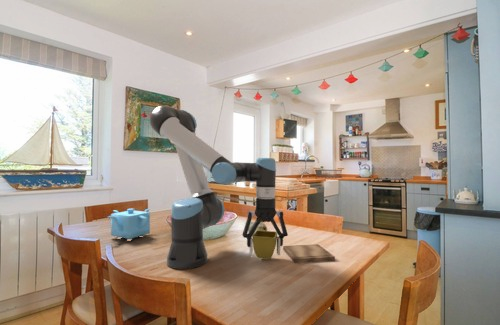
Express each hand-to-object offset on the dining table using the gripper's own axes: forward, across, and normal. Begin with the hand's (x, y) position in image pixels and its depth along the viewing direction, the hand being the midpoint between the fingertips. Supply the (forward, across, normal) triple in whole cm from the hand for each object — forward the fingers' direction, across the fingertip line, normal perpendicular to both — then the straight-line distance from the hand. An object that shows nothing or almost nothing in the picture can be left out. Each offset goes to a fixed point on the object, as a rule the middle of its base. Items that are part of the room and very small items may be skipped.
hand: (264, 254), depth 103 cm
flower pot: (+1, 0, 0) cm, 1 cm away
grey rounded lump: (+3, +4, +36) cm, 36 cm away
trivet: (+2, +18, +3) cm, 19 cm away
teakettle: (+4, -62, +42) cm, 74 cm away
